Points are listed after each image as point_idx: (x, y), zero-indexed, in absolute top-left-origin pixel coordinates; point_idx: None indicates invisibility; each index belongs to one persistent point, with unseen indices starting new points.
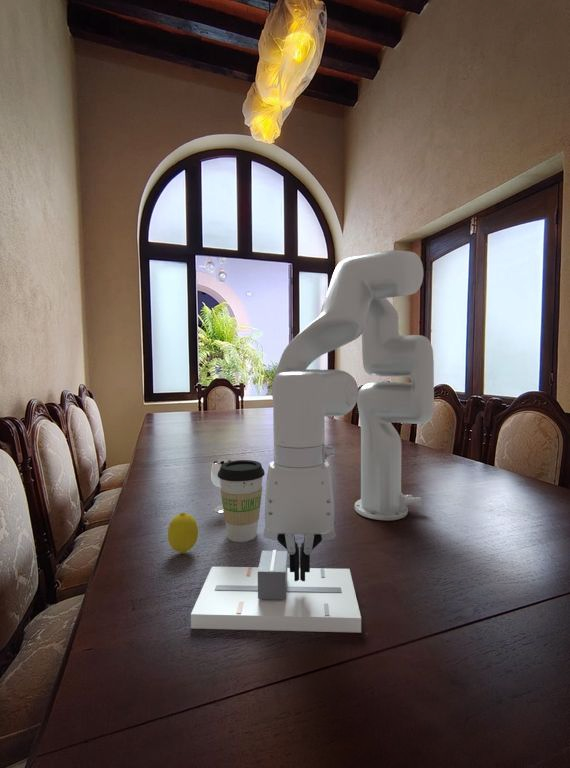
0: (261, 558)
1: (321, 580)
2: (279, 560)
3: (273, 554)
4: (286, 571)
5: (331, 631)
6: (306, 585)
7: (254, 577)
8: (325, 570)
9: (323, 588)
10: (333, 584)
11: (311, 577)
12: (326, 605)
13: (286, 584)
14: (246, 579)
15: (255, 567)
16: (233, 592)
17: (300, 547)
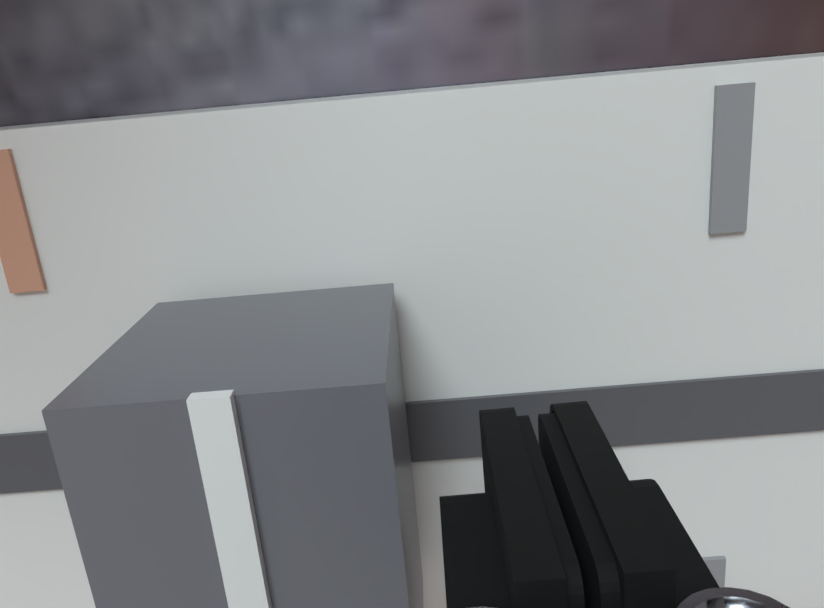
0: (101, 577)
1: (705, 276)
2: (325, 601)
3: (224, 515)
4: (409, 534)
5: None
6: (569, 361)
7: (94, 303)
8: (764, 102)
9: (712, 398)
10: (804, 323)
11: (616, 242)
12: (712, 573)
13: (411, 483)
14: (35, 338)
15: (41, 128)
16: (7, 512)
17: (606, 605)
